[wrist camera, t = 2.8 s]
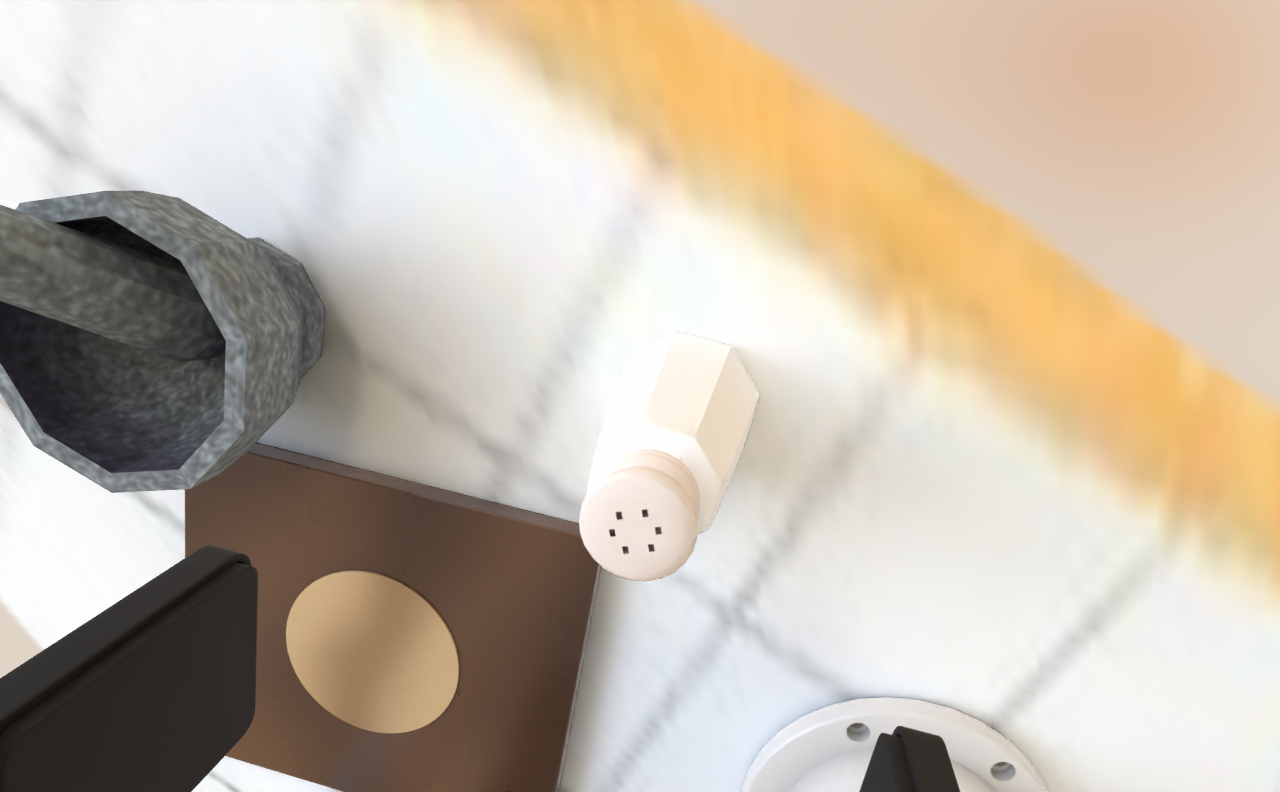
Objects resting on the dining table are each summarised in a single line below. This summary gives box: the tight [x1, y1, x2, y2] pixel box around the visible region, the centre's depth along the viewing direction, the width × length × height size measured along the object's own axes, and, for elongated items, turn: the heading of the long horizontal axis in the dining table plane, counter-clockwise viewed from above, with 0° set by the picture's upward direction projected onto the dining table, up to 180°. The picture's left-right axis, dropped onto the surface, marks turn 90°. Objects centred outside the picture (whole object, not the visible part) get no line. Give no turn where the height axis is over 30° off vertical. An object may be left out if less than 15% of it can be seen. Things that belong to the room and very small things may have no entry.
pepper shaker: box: [579, 331, 760, 581], centre depth 22 cm, size 5×5×11 cm
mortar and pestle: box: [0, 191, 325, 493], centre depth 24 cm, size 11×9×12 cm
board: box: [185, 443, 601, 792], centre depth 32 cm, size 18×16×1 cm
